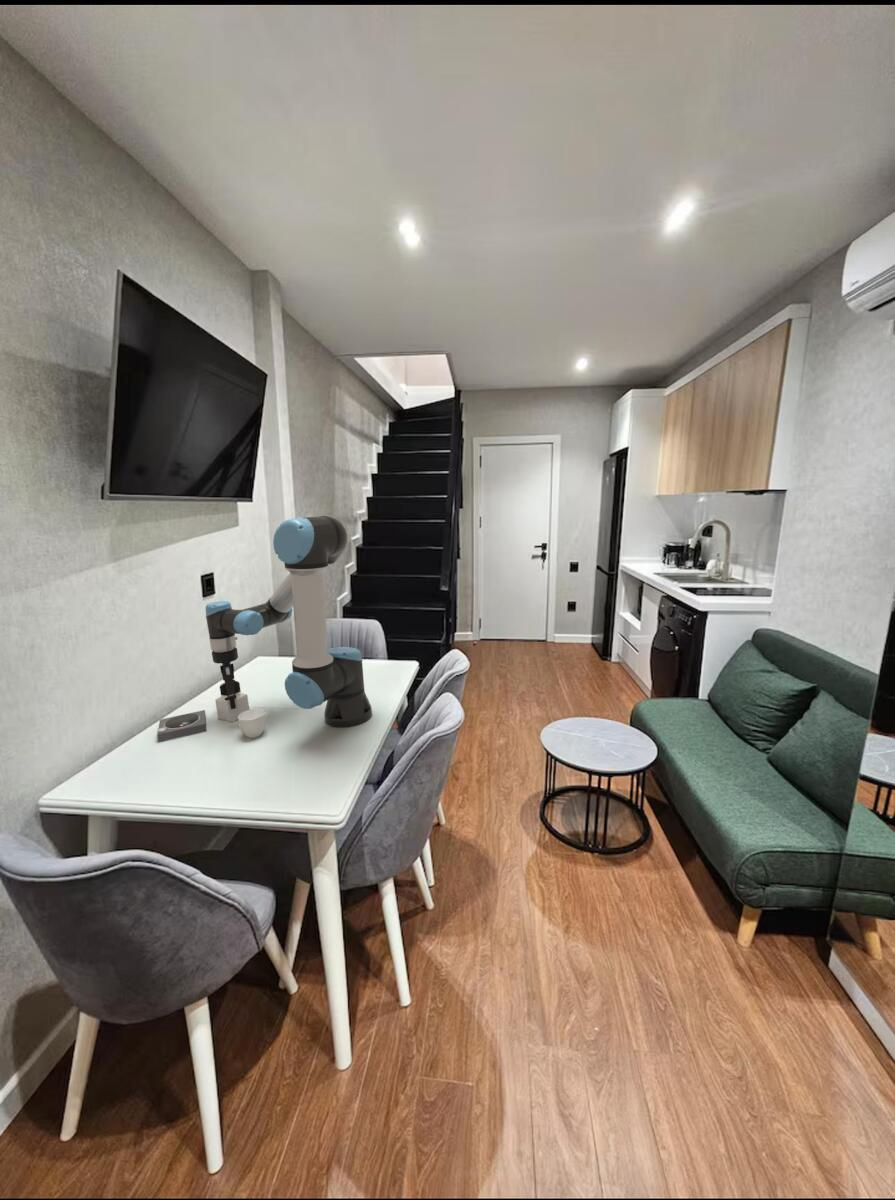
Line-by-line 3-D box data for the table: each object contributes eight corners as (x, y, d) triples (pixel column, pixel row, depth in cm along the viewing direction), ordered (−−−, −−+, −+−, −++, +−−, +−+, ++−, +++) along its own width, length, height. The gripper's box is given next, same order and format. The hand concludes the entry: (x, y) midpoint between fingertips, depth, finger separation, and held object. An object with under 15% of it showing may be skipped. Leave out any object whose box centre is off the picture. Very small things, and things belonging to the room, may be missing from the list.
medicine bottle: (250, 713, 160) (245, 680, 158) (233, 722, 154) (228, 687, 152) (235, 710, 163) (230, 677, 161) (217, 719, 157) (212, 685, 154)
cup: (237, 742, 141) (234, 721, 139) (246, 726, 150) (244, 707, 149) (264, 739, 142) (261, 718, 140) (272, 724, 151) (269, 704, 150)
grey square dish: (206, 731, 149) (204, 721, 148) (158, 742, 143) (156, 732, 142) (205, 716, 159) (204, 707, 159) (161, 726, 153) (159, 717, 153)
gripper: (239, 656, 145) (248, 721, 149) (234, 638, 166) (242, 694, 171) (212, 661, 141) (222, 727, 146) (210, 641, 163) (219, 699, 167)
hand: (233, 709), depth 158 cm, fingers open, 13 cm apart
